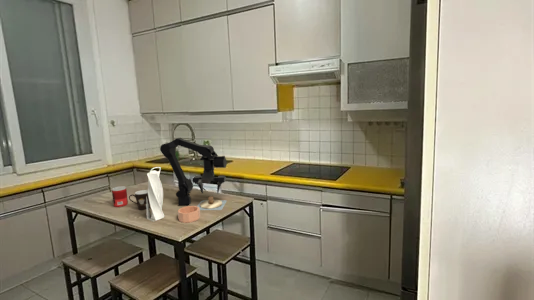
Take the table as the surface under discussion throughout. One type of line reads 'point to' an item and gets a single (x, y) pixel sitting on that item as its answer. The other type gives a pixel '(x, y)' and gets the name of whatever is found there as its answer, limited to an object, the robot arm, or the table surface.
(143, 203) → the coffee mug
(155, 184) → the skyscraper
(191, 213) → the bowl
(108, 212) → the table surface
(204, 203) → the lid
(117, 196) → the canned food
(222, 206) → the mat
